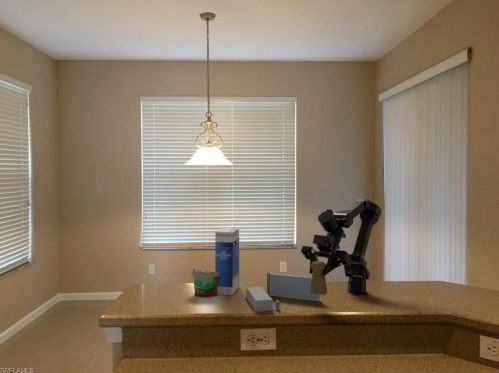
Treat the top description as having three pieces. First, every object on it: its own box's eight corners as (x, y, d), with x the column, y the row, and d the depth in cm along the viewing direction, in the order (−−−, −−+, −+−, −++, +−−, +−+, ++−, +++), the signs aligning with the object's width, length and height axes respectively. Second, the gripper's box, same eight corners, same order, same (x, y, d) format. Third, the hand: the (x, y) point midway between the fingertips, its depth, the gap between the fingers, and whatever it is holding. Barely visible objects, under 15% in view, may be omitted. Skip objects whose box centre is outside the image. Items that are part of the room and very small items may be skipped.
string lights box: (223, 286, 170) (223, 227, 170) (240, 287, 168) (240, 228, 168) (214, 294, 157) (214, 231, 157) (232, 295, 155) (232, 231, 155)
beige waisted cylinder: (327, 290, 141) (326, 260, 141) (327, 295, 135) (327, 263, 135) (310, 289, 142) (310, 259, 142) (310, 294, 136) (309, 263, 136)
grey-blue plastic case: (269, 294, 157) (269, 272, 157) (284, 310, 137) (284, 284, 137) (245, 296, 155) (245, 273, 155) (256, 312, 135) (256, 286, 135)
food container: (185, 296, 155) (185, 271, 155) (193, 292, 161) (193, 268, 161) (213, 299, 150) (212, 273, 150) (220, 295, 156) (219, 270, 156)
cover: (272, 293, 157) (272, 272, 157) (320, 299, 149) (320, 277, 149) (270, 295, 155) (270, 273, 155) (319, 300, 147) (319, 278, 147)
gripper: (303, 224, 147) (285, 257, 139) (347, 228, 134) (330, 265, 127) (314, 242, 153) (298, 275, 145) (358, 247, 140) (343, 284, 132)
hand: (316, 274), depth 137 cm, fingers closed on beige waisted cylinder, 5 cm apart
